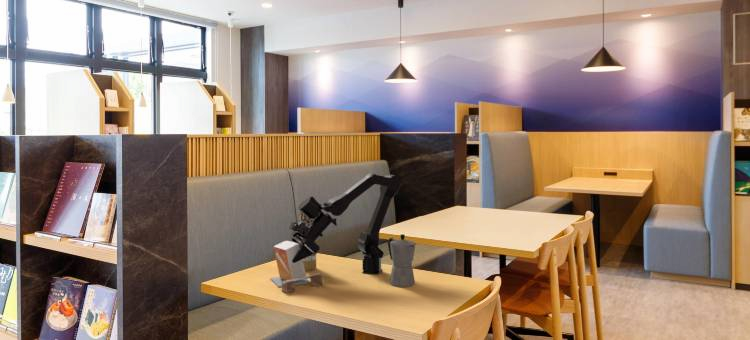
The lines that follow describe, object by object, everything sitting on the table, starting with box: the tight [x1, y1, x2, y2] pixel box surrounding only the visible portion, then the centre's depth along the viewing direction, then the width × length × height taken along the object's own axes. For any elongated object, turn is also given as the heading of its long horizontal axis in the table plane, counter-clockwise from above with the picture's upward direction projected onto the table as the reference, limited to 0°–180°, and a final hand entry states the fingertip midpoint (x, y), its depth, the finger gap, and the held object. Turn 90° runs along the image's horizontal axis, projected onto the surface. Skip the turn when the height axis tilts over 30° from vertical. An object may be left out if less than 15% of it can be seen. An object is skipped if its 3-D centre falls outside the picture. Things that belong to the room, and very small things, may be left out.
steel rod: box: [282, 272, 323, 284], centre depth 189 cm, size 16×1×1 cm, turn 132°
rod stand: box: [281, 275, 323, 294], centre depth 189 cm, size 15×3×3 cm, turn 132°
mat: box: [270, 276, 311, 288], centre depth 198 cm, size 12×12×1 cm
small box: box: [272, 240, 307, 282], centre depth 197 cm, size 8×6×13 cm
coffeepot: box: [387, 233, 416, 288], centre depth 195 cm, size 15×9×18 cm, turn 34°
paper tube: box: [298, 209, 317, 272], centre depth 215 cm, size 7×7×25 cm
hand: (289, 259), depth 197 cm, fingers closed on small box, 9 cm apart
